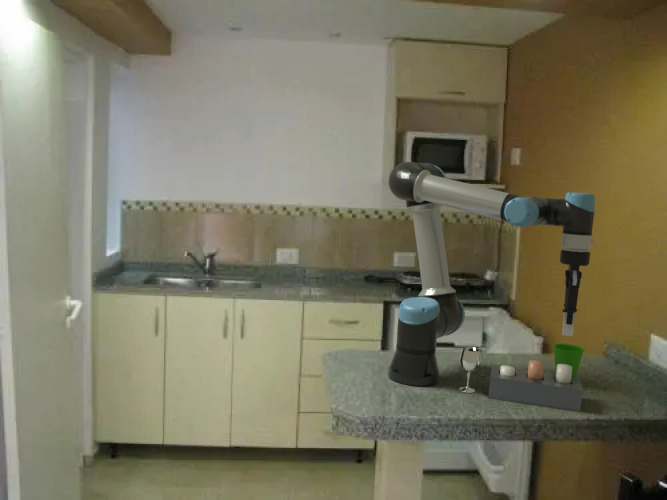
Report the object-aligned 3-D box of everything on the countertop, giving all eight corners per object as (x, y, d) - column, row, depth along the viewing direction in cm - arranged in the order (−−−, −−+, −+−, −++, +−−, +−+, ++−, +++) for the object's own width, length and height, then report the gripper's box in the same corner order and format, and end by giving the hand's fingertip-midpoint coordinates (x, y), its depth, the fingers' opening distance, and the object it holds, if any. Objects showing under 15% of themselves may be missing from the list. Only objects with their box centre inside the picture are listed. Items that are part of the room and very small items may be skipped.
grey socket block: (488, 397, 180) (490, 376, 179) (489, 384, 191) (491, 364, 190) (580, 411, 174) (582, 389, 173) (575, 397, 185) (578, 376, 184)
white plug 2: (554, 391, 179) (557, 367, 178) (554, 387, 183) (556, 363, 182) (570, 393, 178) (573, 369, 177) (568, 389, 182) (571, 365, 181)
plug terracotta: (526, 387, 181) (529, 363, 180) (526, 383, 184) (528, 359, 184) (541, 389, 180) (544, 365, 179) (541, 385, 183) (543, 361, 183)
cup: (582, 389, 193) (587, 353, 191) (551, 385, 195) (555, 349, 193) (577, 379, 202) (581, 345, 200) (547, 376, 203) (551, 342, 202)
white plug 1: (498, 392, 183) (500, 368, 182) (498, 388, 187) (500, 364, 186) (512, 394, 182) (515, 370, 181) (512, 390, 186) (515, 366, 185)
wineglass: (465, 394, 181) (469, 352, 180) (452, 387, 186) (456, 347, 185) (481, 392, 184) (485, 351, 182) (468, 385, 189) (472, 345, 187)
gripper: (593, 253, 168) (584, 342, 171) (587, 248, 180) (579, 331, 183) (562, 251, 170) (554, 339, 173) (559, 246, 182) (551, 328, 185)
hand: (567, 335), depth 178 cm, fingers closed
